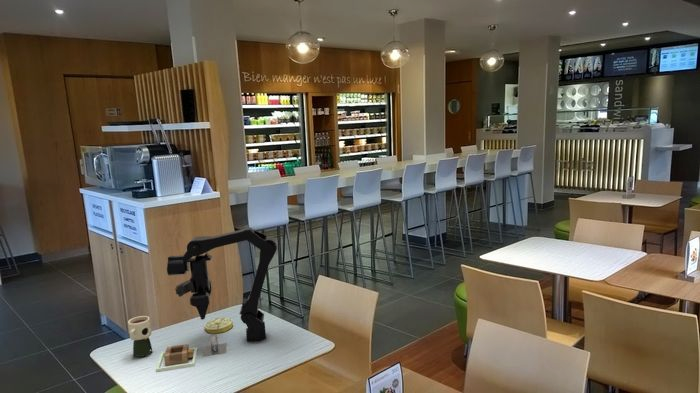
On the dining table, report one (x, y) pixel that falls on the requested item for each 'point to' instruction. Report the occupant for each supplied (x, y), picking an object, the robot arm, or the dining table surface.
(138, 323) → the character mug
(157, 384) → the dining table surface
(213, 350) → the stake
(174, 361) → the brown piece
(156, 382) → the dining table surface
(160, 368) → the tray
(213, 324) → the decorated donut
